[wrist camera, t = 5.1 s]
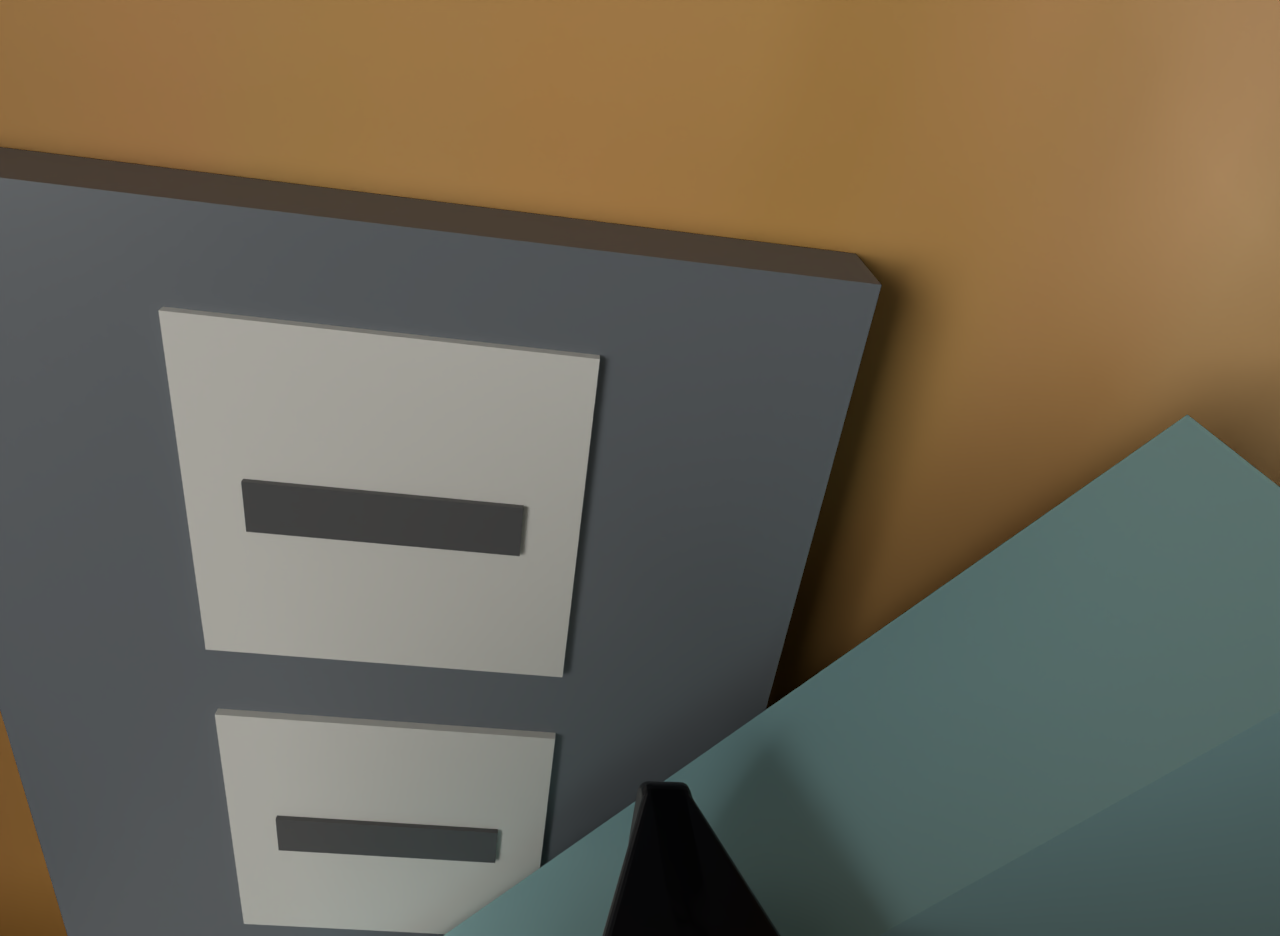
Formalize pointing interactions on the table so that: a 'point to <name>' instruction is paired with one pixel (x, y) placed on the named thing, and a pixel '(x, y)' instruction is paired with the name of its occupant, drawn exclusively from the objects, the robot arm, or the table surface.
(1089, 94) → the table surface
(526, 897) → the swing arm
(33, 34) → the table surface
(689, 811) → the robot arm
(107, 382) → the label panel
